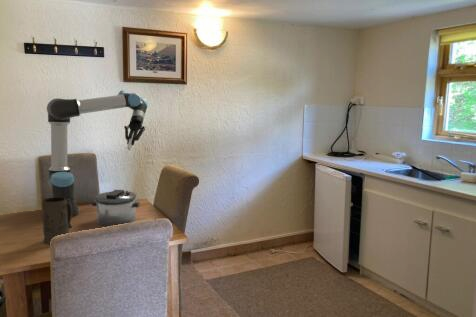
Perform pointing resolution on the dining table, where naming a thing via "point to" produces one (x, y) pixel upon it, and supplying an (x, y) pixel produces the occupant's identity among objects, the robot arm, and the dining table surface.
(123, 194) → the cooker lid
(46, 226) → the beer stein
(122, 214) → the cooker pot
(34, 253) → the dining table surface
